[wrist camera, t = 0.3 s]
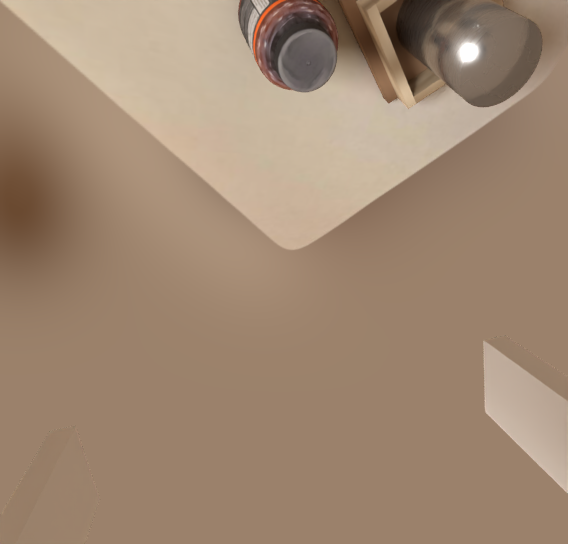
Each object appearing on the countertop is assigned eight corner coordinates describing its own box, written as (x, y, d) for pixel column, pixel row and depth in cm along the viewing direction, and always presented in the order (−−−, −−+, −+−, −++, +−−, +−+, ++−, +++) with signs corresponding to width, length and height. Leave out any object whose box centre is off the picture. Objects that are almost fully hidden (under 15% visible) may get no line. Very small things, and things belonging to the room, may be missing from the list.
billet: (386, 8, 37) (449, 56, 30) (452, -41, 36) (536, -3, 28) (409, 67, 42) (470, 122, 34) (469, 25, 40) (546, 73, 33)
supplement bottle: (318, -16, 36) (369, 30, 28) (292, 58, 40) (330, 117, 32) (249, -44, 34) (284, -3, 26) (227, 37, 37) (251, 95, 30)
